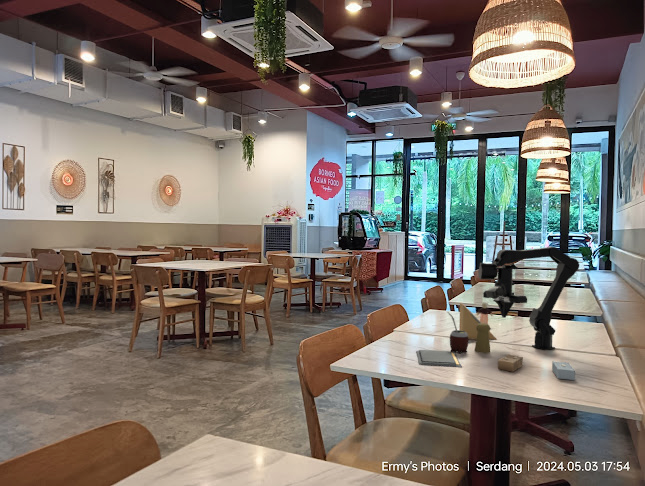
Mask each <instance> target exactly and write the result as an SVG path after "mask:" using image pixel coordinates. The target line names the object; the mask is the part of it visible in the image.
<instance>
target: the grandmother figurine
mask: <svg viewBox="0 0 645 486" xmlns="http://www.w3.org/2000/svg"><path fill="white" fill-rule="evenodd" d="M488 307H489V302H487V301H486V300H484V301H482V302H481V308H480V309H478V311H477V313H476V316H479V315H480V316H479V321H480V322H481V323H486V324H488V325H489V315H490V317H494V315H493V313H492V312H493V311H491V309H489V308H488Z"/></svg>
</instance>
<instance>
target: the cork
mask: <svg viewBox="0 0 645 486" xmlns="http://www.w3.org/2000/svg"><path fill="white" fill-rule="evenodd" d="M476 329H477V331H478V333H477V339H475V340H476V341H475V346H474V352H477V353H480V354H489V353H491V343H490V339H489V333H488V332H489V331H490V332H491V326H490V325H489V323H488V324H486V323H479V324H477V326H476Z"/></svg>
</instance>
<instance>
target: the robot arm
mask: <svg viewBox="0 0 645 486" xmlns="http://www.w3.org/2000/svg"><path fill="white" fill-rule="evenodd" d="M546 257H549V258H550V259H551V260H552V261H553V262H555V264H556V271H555V277H554V279H553V280H552V283H551V285H550V287H549V289H548V290H547V292H546V295H545V296H544V298H543V300H542V301H541V305H540V306H539V307H538V308H533V307H532V311H531V313H530V314H529V316H528V317H529V320H528V321H529V324H530V325H531V327H533V330H534V331H535V333H534V334H535V335H534V344H532V345H531V347H533V348H537V349H540V350H544V351H547V350H553V349H554V350H555V349H556V346H553V336H554V335H555V333H556V329H555V328H554V327H553V326H552V325H551V324H550V323H551V320H552V311H553V309H554V308H555V305H556V303H557V301H558V300H559V297H560V296H561V294H562V292H563V290H564V288H565V286H566V284H567V283H568V281H569V280H570V278H572V277H573V276H575V274H576V273H577V272H578V270H579V268H580V263H579V261H578V260H577V259H576V258H574V257H570V256H569V255H568V254H565V253H564V252H562V251H561V250H560V249H559V248H557V247H556V246H547V247H539V248H531V249H521V250H519V249H518V250H517V249H500V250H498V252H497V253H496V257H495V258H494V260H493V261H492V262H491V263H486V262H480V263H479V267H478V271H477V274H478V279H479V280H489V281H490V280H495V279H496V278H497V281H495V283H494V285H493V286H491V287H489V288H487V289H485V290H484V291H483V294H482V295H483V296H482V297H483V298H485V299H493V300H492V301H493V302H495V303H496V304H497V306H498V309H499V312H500V314H501V317H502V319H503V318H504V319H505V318H506V317H507V316H508V313H509V311H510V310H511V309H512V307H513V305H514V304H527V303H528V297H527V296H526V295H522V294H515V292H513V286H515V282H513V271H514V270H518V269H519V268H518V267H517V266H516V265H515V263H517V262H520V261H521V260H522V261H523V260H528V259H529V260H530V259H540V258H546Z"/></svg>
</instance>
